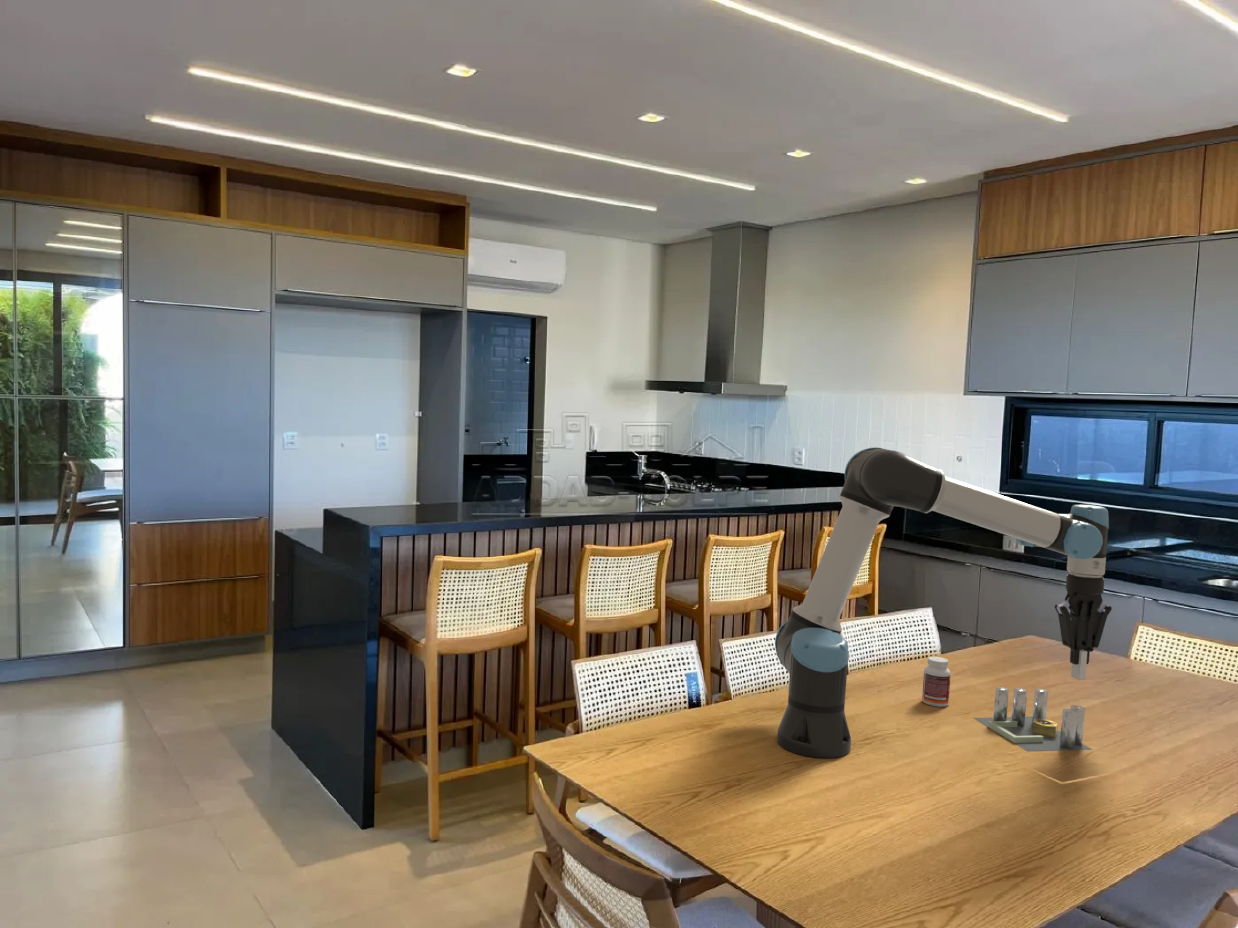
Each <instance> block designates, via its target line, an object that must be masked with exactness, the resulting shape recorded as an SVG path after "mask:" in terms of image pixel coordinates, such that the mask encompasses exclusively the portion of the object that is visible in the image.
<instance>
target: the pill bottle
mask: <svg viewBox="0 0 1238 928" xmlns="http://www.w3.org/2000/svg"><path fill="white" fill-rule="evenodd" d="M927 664H928V665H926V666H925V667H924V669H923V680H922V681H923V682H922V684H923V685H922V696H921V698H922V699H921V700H922V702H923V703H924V704H925V705H928V706H932V707H936V708H937V707H938V708H939V707H941V708H943V707H947V706H948V705H949V704H950V703H949V702H950V701H949V700H950V690H951V676H952V675H951V673H952V672H951V670H950V669H949V668H948V667H949V660H948V658H944V657H940V656H930V657H929V656H928V658H927Z"/></svg>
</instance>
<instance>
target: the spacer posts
mask: <svg viewBox="0 0 1238 928" xmlns="http://www.w3.org/2000/svg"><path fill="white" fill-rule="evenodd" d="M1009 692H1010V689H1009V688H1006V687H1003V686H996V687H995V692H994V704H993V716H992V717H993V721H1007V717H1008V708H1009V706H1008V704H1009V694H1010V693H1009ZM1033 692H1034V694H1033V706H1032V707H1033V708H1032V716H1031V717H1032V724H1033V721H1034V720H1035V719H1047V711H1048V708H1047V707H1048V696H1049V691H1048V690H1047V689H1043V688H1035V689H1034V691H1033ZM1012 697H1013V698H1012V707H1011V708H1012V710H1011V711H1012V712H1011V717H1012V720H1011V721H1017V722H1018V724H1017V726H1024V725H1025V717H1026V711H1027V701H1028V700H1027V698H1028V690H1026V689H1024V688H1021V687H1015V688H1013V696H1012ZM1085 714H1086V708H1085V707H1084V706H1082V705H1076V704H1075V705H1074V704H1073V705H1072V704H1071V705H1070V708H1062V713H1061V725H1060V727H1061V728H1060V732H1061V736H1060V747H1061V748H1064V749H1068V750H1067V751H1074V750H1073V749H1074V745H1076V746H1081V745H1082V744H1083V741H1084V740H1083V737H1084V728H1085V727H1084V725H1085Z"/></svg>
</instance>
